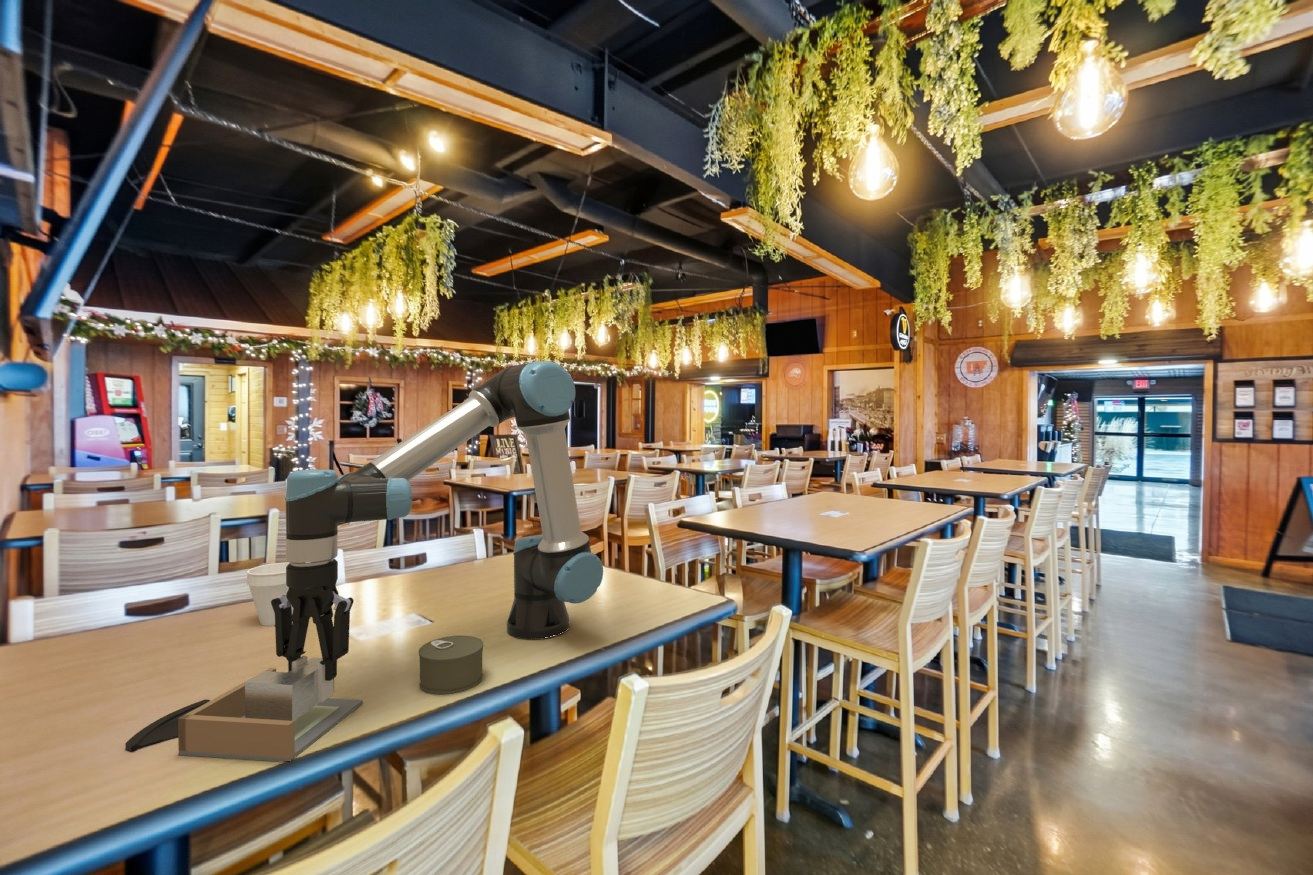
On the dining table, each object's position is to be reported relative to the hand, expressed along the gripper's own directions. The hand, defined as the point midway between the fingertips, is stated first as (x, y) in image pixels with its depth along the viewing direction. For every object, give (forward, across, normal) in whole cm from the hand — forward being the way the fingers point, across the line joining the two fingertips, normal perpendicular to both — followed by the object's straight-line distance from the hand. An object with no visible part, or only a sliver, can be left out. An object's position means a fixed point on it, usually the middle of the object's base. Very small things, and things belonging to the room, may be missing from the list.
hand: (312, 697), depth 97 cm
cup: (+4, +43, -44) cm, 62 cm away
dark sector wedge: (+5, +21, +4) cm, 22 cm away
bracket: (0, +2, +2) cm, 3 cm away
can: (+4, -17, -16) cm, 24 cm away
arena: (+4, +4, +3) cm, 6 cm away
